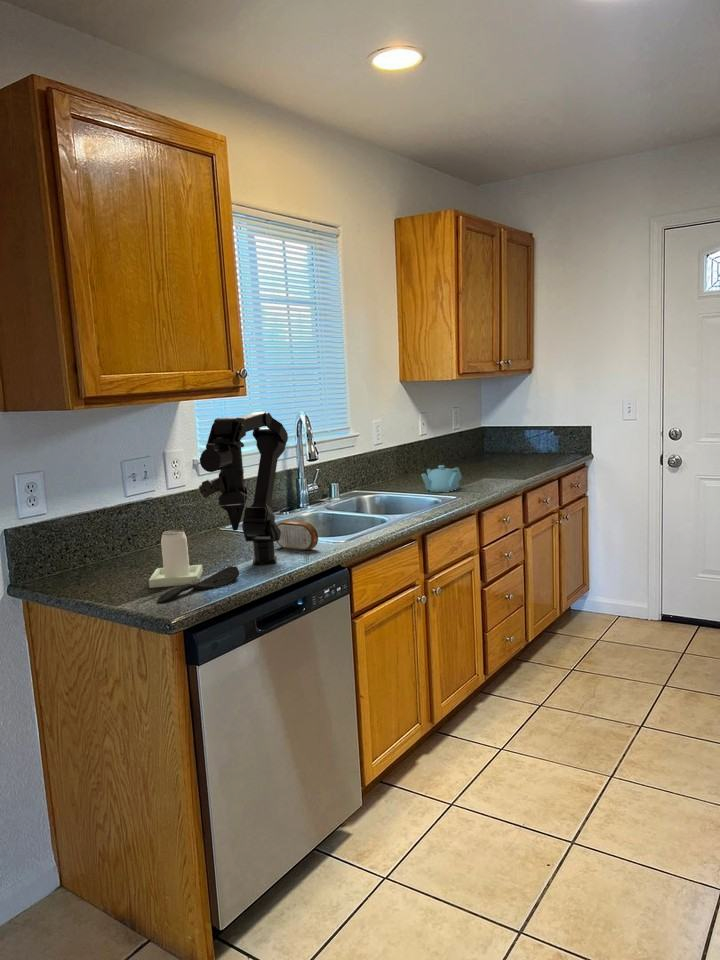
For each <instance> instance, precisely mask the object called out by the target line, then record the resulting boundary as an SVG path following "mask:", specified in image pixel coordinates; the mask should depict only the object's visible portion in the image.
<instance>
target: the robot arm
mask: <svg viewBox="0 0 720 960" xmlns="http://www.w3.org/2000/svg"><path fill="white" fill-rule="evenodd" d="M251 431H252V437H253V438H254V440H255V442H256V445H255V446H256V448H257V450H258V453H259V454H260V456H259V463H258V468H257V476H256V481H255V489H254V497H253V502H252V504H251V505H250V506H249V507H246V508H245V505H246V501H247V498H248V494H249V490H248V485H246V483H245V480H244V479H245V478H244V473H245V472H244V471H245V469H244V466H243V465H244V463H243V455H242V448H244V447H245V444H244V443H243V441H242V439H243V438H244V437H246V436H247V433H248V432H251ZM288 440H289V436H288V431H287V430H286V428H285V427H284V425H283V424H282V423H281V422H280V421H278V420H277V419H275V418H273V416H272V414H271V413H270V412H267V411H253V412H252V413H250V414H247V415H243V416H240V417H239V416H236V417H234V416H233V417H219V418H218V417H217V418H215V419H214V420H213V423H212V425H211V428H210V432H209V435H208V439H207V442H206V444H205V449H204V450H203V451H202V453H201V454H200V457H199V463H200V466H201V467H202V469H203V470H204V471H206V472H208V473H213V472H218V471H219V473H218V477H216V478H215V477H214V478H213V479H206V480H205V481H202V482H201V484H200V485H199V486H198V489H199V493H200V494H201V495H202V498H203V499H206V498H208V497H209V496H211V495H214V494H216V493H217V492H218V493H220V495H219V496H218V505H219V507H220V508H222V509H224V511H225V512H227V513H226V514H227V515H228V518H229V521H230V525H231V527H232V528H231V529H232V531H238V529H239V526H240V523H241V519H242V516H243V520H242V524H241V528H242V529H241V530H242V533H243V535H244V538H245V539H244V540H245V542H248V543H249V542H252V546H253V549H252V550H253V557H254V558H253V559H252V565H253V566H257V565H269V564H270V565H272V564H276V563H277V559H278V558H277V556H276V554H275V542H276V541H279V539H280V536H281V531H280V529H279V528H278V526H277V523H276V521H275V519H276V516H275V514H274V512H273V510H272V506H271V505H272V500H273V494H274V487H275V480H276V474H277V473H276V472H277V467H278V466H277V465H278V459H279V458H280V457H281V456H282V454H283V453H284V452H285V450H286V446H287V442H288ZM243 512H244V513H243ZM243 514H244V515H243Z"/></svg>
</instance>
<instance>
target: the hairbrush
mask: <svg viewBox="0 0 720 960" xmlns="http://www.w3.org/2000/svg"><path fill="white" fill-rule="evenodd" d="M223 567H224V568H223ZM223 567H222V565H221V568H220V569H221V570H217V569H215V572H216V573H213V572H210V573H209V572H208V576H207V574H205V576H206V577H204V576H201V577H200V580H198V581H199V582H198V581H197V582H198V583H195V582H194V583H195V584H194V583H193V584H186V585H179V586H178V587H175V588H173V589H169V590H168V591H166V592H165V593H163V594H162V595H161V596H159V597H158V598H157V600H156V604H166V603H169V602H170V601H172V600H173V599H175V598H177V597H178V596H180V595H181V594H182V593H183V592H186V591H189V590H191V589H197V590H201V591H202V590H203V591H204V590H205V591H208V589H211V590H214V589H213V588H216V589H219V588H218V587H220V588H222V587H221V586H224V587H226V586H225V585H227V586H229V585H228V584H230V583H232V584H234V583H235V582H236V580H238V578H239V575H240V571H239V569H238V566H237V565H236V564H235V563H232V566H231V565H230V566H229V563H227V567H226V565H223ZM203 577H204V578H203ZM198 579H199V578H198ZM194 581H196V580H194ZM192 582H193V581H192ZM230 585H231V584H230Z"/></svg>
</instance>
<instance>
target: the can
mask: <svg viewBox="0 0 720 960" xmlns="http://www.w3.org/2000/svg"><path fill="white" fill-rule="evenodd" d="M161 534H162V536H161V538H160V542H161V543H160V547H161V555H162V563H163V564H162V566H163V567H162V568H164V576H165V578H169V577H181V576H189V575H190V568H189V566H190V560H189V559H190V557H189V550H188V540H187V536H186V533H185V530H184V529H172V530H167V531H166V530H165V531H163V532H161Z"/></svg>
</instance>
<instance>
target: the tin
mask: <svg viewBox="0 0 720 960" xmlns="http://www.w3.org/2000/svg"><path fill="white" fill-rule="evenodd" d="M276 525H277V526H278V528H279V529H280V531H281V536H280V539H279V541H275V542H276V543H277V544H278V545H279V547H281V548H282V549H286V550H294V551H295V550H296V551H302V550H307V551H310V550H312V549H314V548H316V547H317V545H318V542H319V535H318V531H317V529H316V528H315V526H314V525H313V524H312V523H310V522H308V521H302V520H301V521H299V520H298V521H297V520H288V519H285V520H282V521H281V522H279V523H276Z"/></svg>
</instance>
